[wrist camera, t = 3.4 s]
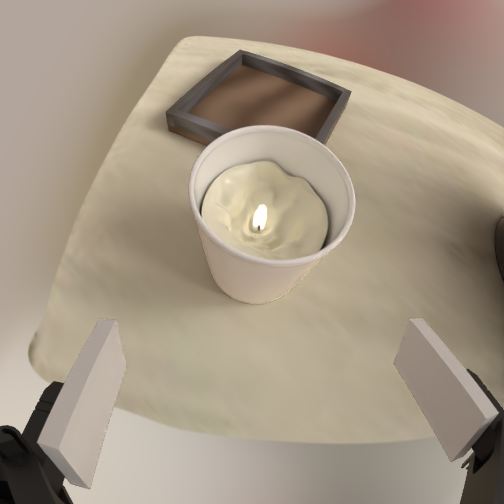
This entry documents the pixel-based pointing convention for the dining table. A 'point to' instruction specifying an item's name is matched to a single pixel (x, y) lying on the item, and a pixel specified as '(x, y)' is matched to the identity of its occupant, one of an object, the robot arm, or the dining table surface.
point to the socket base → (257, 100)
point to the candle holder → (268, 209)
